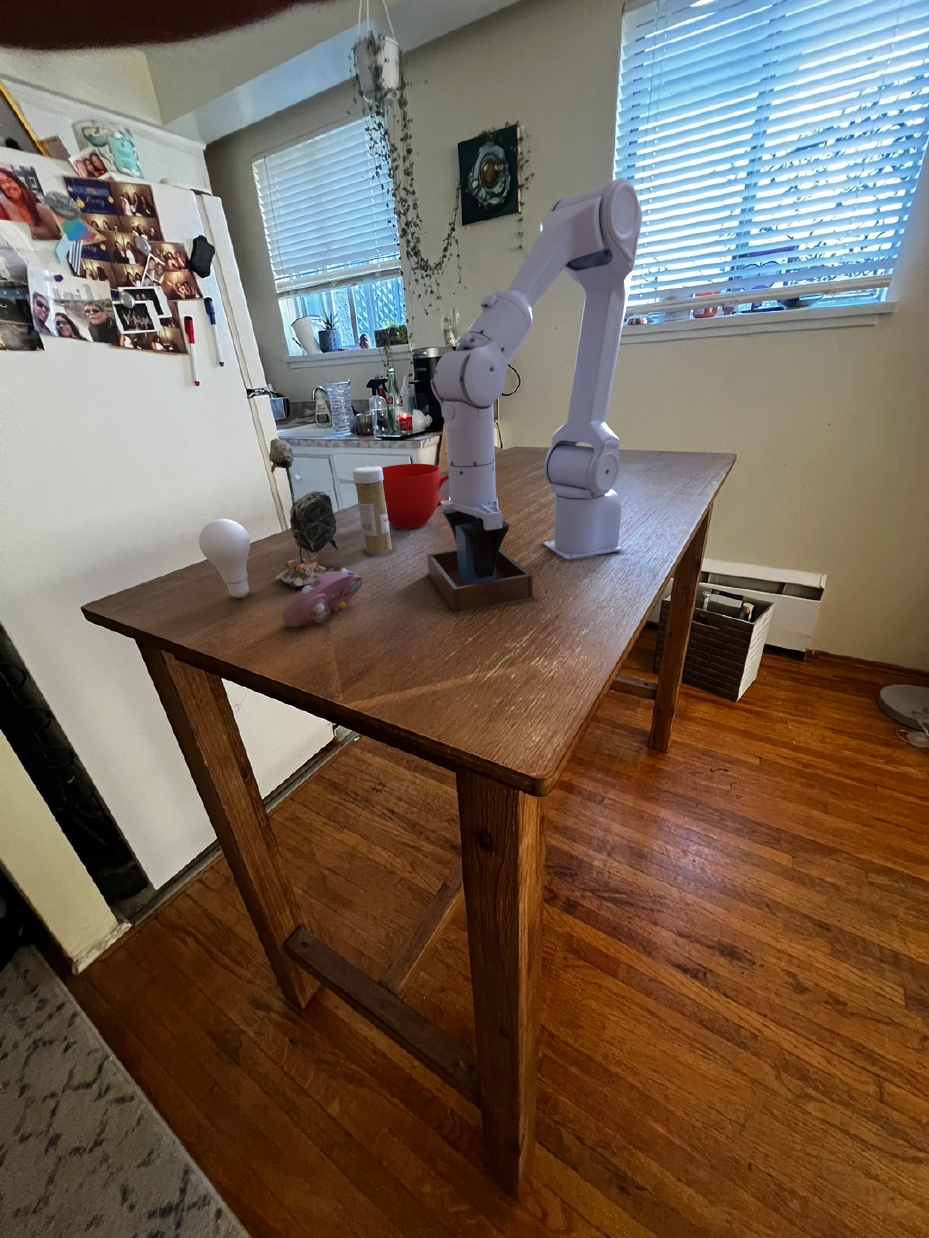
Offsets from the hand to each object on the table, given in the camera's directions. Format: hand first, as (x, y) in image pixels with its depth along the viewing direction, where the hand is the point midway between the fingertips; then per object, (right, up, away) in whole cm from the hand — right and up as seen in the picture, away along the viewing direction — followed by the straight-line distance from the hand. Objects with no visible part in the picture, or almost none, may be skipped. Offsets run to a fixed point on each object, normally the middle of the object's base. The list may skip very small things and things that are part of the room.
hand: (476, 567), depth 67 cm
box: (0, -3, +1) cm, 3 cm away
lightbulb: (-33, -4, +3) cm, 33 cm away
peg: (0, -2, +1) cm, 2 cm away
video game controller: (-19, -7, -4) cm, 20 cm away
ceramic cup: (-10, +11, +29) cm, 33 cm away
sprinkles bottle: (-16, +4, +17) cm, 23 cm away
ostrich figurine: (-24, 0, +9) cm, 26 cm away
